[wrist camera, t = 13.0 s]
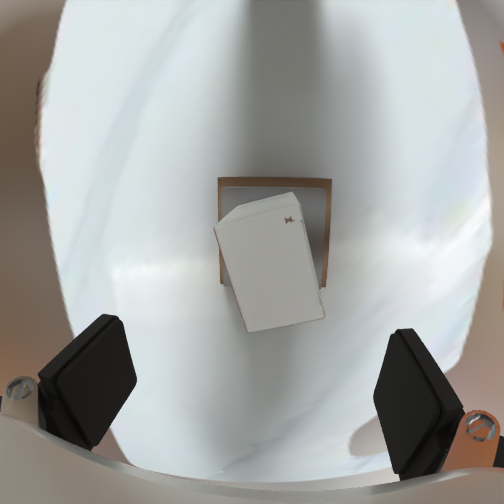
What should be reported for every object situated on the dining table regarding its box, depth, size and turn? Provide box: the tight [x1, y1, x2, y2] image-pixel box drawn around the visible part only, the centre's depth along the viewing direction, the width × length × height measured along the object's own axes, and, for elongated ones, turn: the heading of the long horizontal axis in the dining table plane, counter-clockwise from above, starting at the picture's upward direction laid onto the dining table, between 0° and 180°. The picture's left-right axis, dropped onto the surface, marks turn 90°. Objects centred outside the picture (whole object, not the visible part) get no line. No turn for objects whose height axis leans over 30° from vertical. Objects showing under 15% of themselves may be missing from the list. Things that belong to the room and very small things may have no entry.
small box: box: [213, 192, 325, 333], centre depth 23 cm, size 8×6×10 cm
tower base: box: [218, 177, 332, 289], centre depth 31 cm, size 12×12×6 cm
